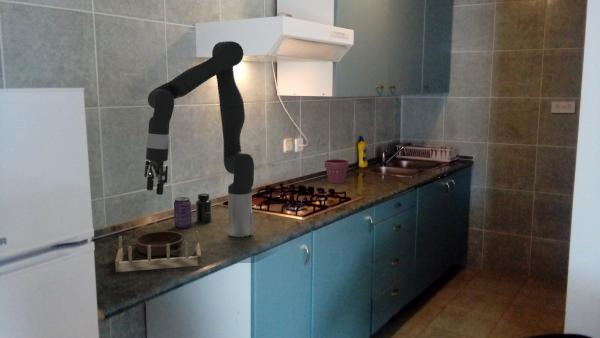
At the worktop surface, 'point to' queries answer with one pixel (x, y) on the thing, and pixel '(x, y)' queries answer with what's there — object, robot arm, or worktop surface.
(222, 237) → the worktop surface
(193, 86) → the robot arm
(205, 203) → the supplement bottle
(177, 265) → the rack
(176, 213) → the beverage can
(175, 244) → the dish
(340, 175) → the plant pot
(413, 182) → the worktop surface
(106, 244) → the worktop surface
